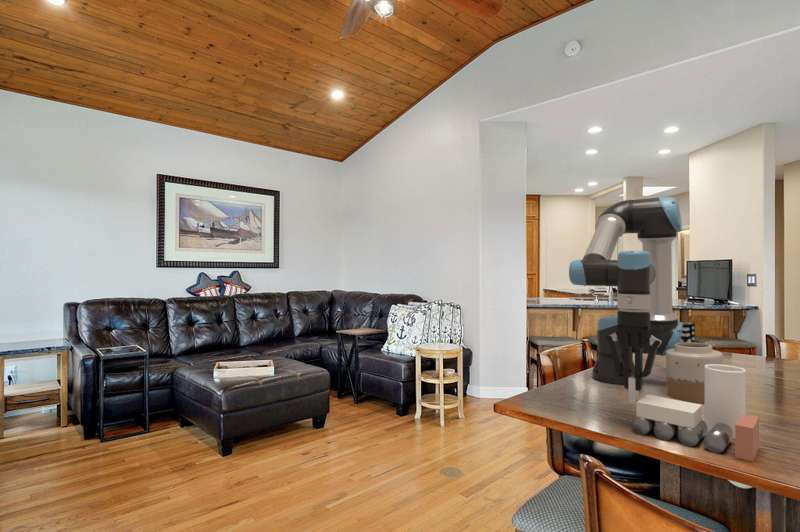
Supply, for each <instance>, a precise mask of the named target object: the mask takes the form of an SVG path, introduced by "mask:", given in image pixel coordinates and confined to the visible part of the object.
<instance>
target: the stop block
mask: <svg viewBox="0 0 800 532" xmlns="http://www.w3.org/2000/svg"><path fill="white" fill-rule="evenodd" d="M734 440H735V442H734V446H735V447H734V452H735V453H734V458H735V459H739V460H744V461H747V462H752V463H753V462H754V460H755V458H756V456H757V454H758V451H759V449H760V417H759V416H755V415H748V414H746V415H744V414H742V416H741V417H740V419H739V420H738V421H737V423H736V424H735V439H734Z"/></svg>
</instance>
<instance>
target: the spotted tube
mask: <svg viewBox="0 0 800 532" xmlns="http://www.w3.org/2000/svg"><path fill="white" fill-rule="evenodd" d="M679 322H680V323H682V324H683V327H682V335H681V341H680V343H684V342H693V343H696V323H694V322H687V321H679Z"/></svg>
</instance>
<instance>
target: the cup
mask: <svg viewBox="0 0 800 532" xmlns="http://www.w3.org/2000/svg"><path fill="white" fill-rule="evenodd" d="M746 380H747V379H746V369H745V368H743V367H739V366H735V365H729V364H724V365H720V364H708V365H705V404H704V410H703V411H704V417H703V419H704V420H703V421H704V422H705V423H706V424H707V427H708V430H707V432H706V433H708V432H709V431H710V430H711V429H712V428H713V426H714V425H715V424H717V423H724V424H726V425H728V426H729V427H730V428H731V429H732V430H733V437H732V439H734V440H735V424H736V423H737V421H738V420H739V419H740V417H741V416H742V414H744V415H747V413H746V412H747V411H746V408H747V407H746V385H747V384H746V382H747V381H746Z"/></svg>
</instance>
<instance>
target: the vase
mask: <svg viewBox="0 0 800 532" xmlns="http://www.w3.org/2000/svg"><path fill="white" fill-rule="evenodd" d="M724 362H725V361H724V354H723V353H722V352H721V351H719V350H715V349H713V346H712V345H711V344H709V343H703V342H695V343H693V342H684V343H676V344H675V348H672V349H668V350H666V356H665V368H666V369H665V370H666V386H667V387H666V388H667V389H666V391H667V396H669V397H671V399H672V398H673V399H674V400H679V401H684V402H690V403H695V404H701V405H705V365H708V364H720V365H725V363H724Z"/></svg>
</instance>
